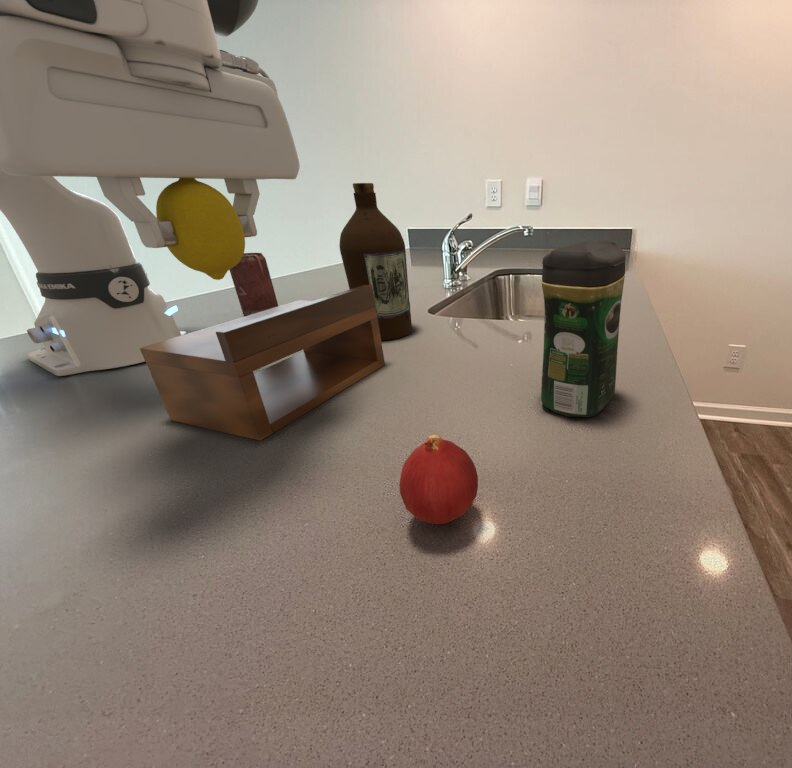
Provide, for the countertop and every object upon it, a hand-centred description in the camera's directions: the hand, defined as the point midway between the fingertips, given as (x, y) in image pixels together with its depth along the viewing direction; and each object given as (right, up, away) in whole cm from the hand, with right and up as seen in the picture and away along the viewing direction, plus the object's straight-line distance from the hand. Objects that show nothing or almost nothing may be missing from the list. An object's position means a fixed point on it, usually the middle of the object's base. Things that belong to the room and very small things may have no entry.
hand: (206, 241), depth 33 cm
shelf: (-4, -12, +21) cm, 25 cm away
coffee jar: (+33, -14, +17) cm, 40 cm away
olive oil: (+2, -2, +42) cm, 42 cm away
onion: (+20, -23, -1) cm, 30 cm away
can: (-23, -1, +47) cm, 52 cm away
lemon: (0, -3, +2) cm, 3 cm away
